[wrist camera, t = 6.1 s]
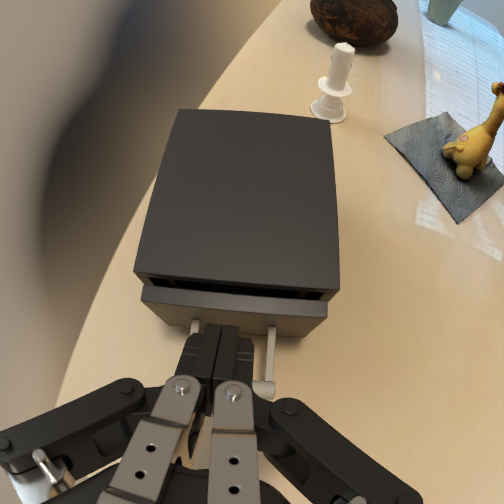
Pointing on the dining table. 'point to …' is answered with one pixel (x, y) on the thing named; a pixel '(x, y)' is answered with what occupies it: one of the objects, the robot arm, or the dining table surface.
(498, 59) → the dining table surface
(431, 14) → the disposable coffee cup
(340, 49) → the candle
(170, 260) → the dark gray cabinet
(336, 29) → the glass bottle
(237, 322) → the drawer
